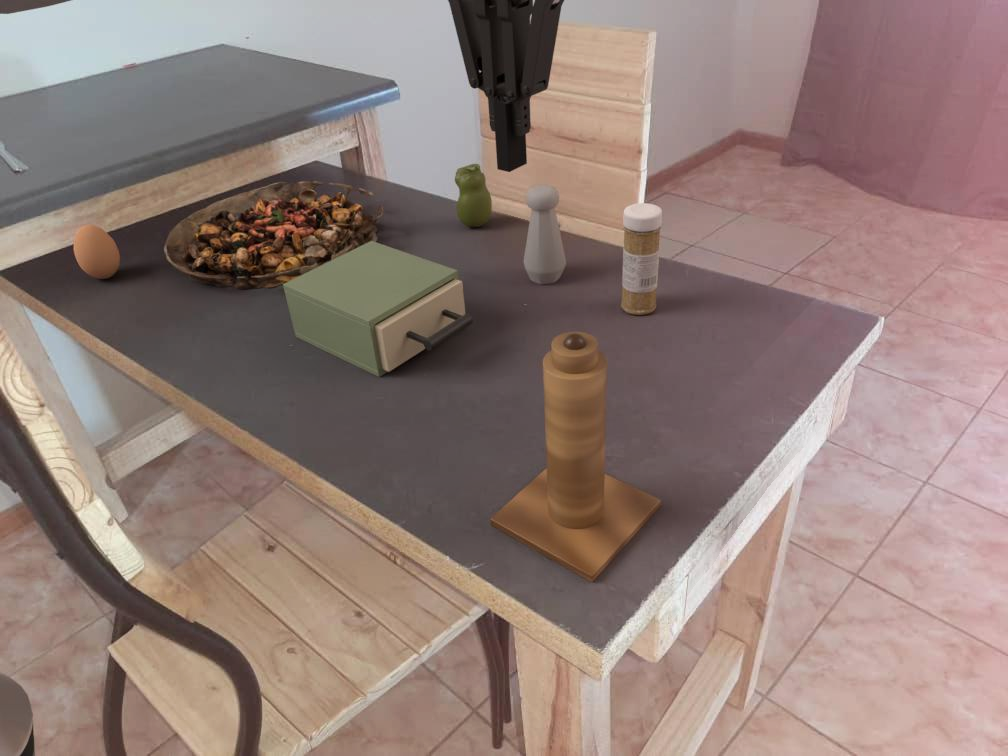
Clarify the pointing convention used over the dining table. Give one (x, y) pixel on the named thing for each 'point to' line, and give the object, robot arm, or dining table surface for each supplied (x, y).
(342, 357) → the cabinet
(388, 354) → the drawer
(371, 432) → the dining table surface
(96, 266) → the egg
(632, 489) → the square wooden board
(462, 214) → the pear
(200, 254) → the food dish
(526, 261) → the salt shaker
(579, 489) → the pepper mill
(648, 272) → the spice jar
